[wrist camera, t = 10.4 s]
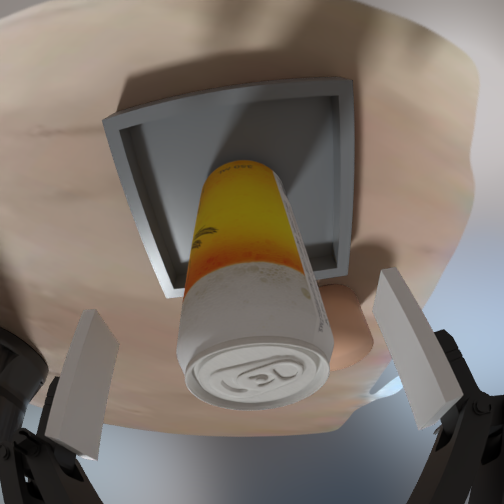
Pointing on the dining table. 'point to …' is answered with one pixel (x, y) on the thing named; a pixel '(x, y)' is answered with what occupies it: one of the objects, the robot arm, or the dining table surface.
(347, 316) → the light brown rounded lump
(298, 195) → the tray
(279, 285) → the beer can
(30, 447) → the robot arm
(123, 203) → the dining table surface
